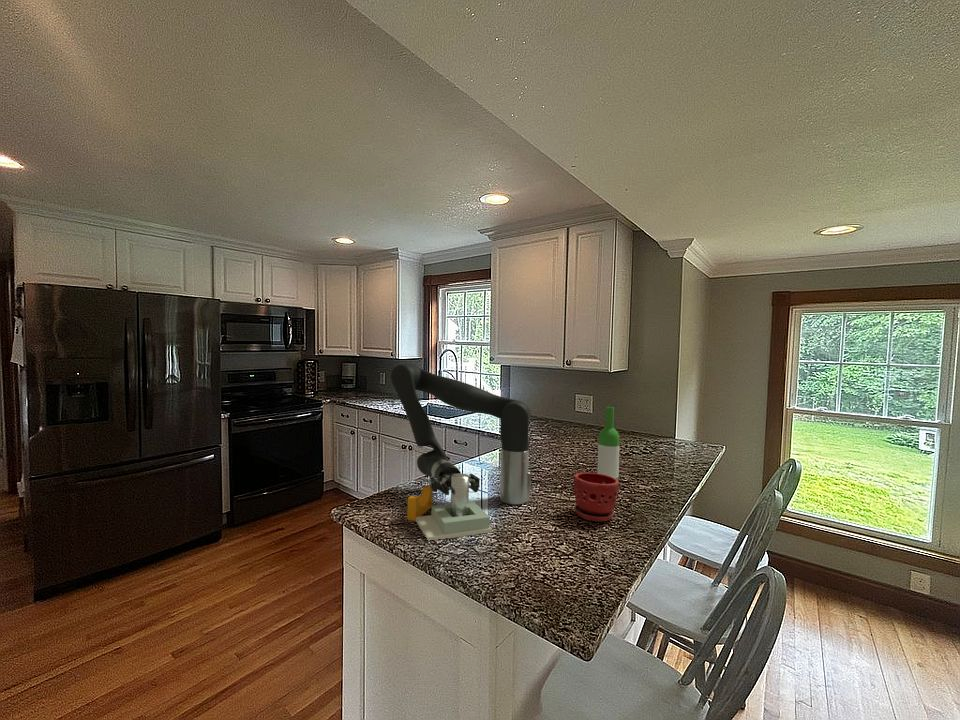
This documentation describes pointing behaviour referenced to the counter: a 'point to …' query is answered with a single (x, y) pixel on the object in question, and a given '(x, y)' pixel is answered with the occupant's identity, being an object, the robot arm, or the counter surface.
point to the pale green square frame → (454, 522)
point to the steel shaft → (459, 494)
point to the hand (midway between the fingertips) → (462, 490)
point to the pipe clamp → (419, 504)
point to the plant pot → (595, 496)
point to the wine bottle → (608, 447)
